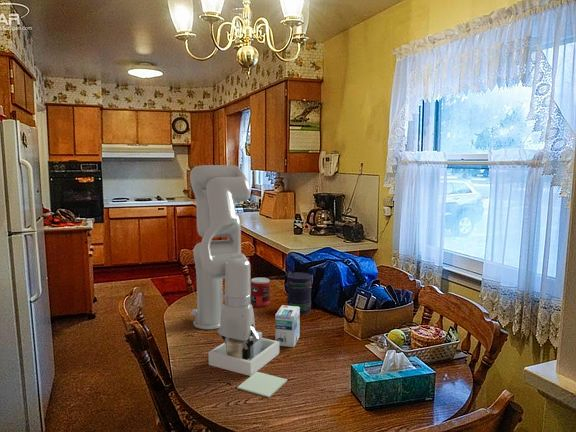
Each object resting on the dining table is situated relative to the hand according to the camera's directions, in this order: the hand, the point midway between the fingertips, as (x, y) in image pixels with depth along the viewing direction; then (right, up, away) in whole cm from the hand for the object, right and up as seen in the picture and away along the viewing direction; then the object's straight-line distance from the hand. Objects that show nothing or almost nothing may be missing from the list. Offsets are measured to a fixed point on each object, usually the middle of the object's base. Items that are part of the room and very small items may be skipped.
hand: (238, 357), depth 135 cm
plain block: (+3, -1, +6) cm, 7 cm away
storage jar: (+20, +4, +48) cm, 52 cm away
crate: (+2, -2, +3) cm, 4 cm away
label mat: (+8, -3, -13) cm, 15 cm away
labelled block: (0, -1, 0) cm, 1 cm away
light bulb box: (+15, 0, +17) cm, 23 cm away
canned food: (+3, +5, +55) cm, 55 cm away
